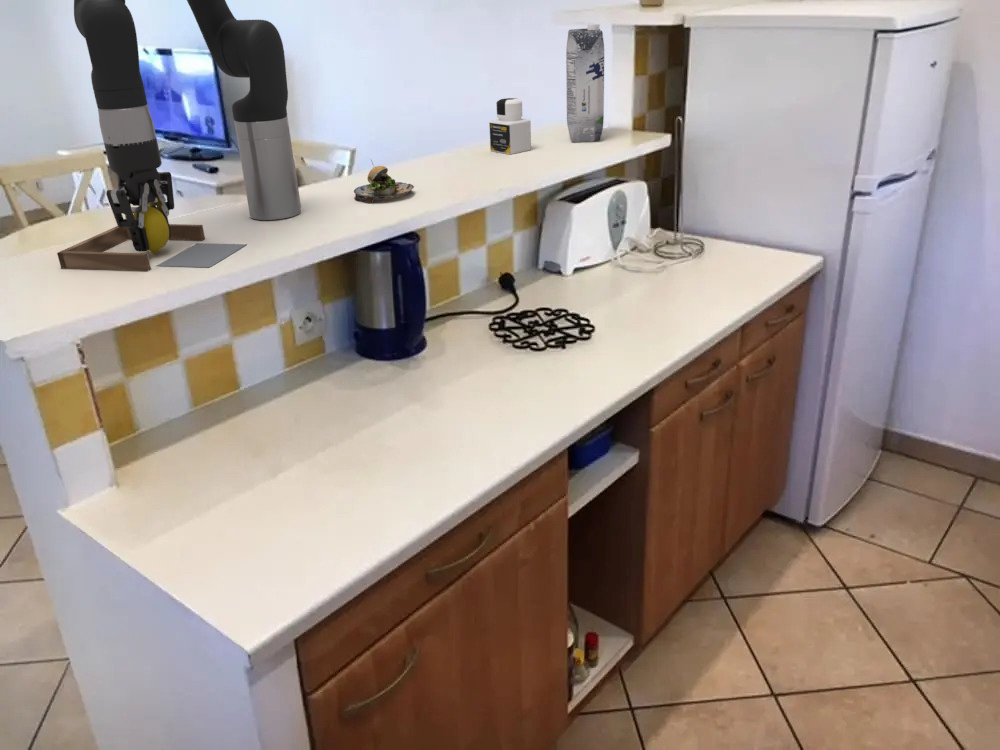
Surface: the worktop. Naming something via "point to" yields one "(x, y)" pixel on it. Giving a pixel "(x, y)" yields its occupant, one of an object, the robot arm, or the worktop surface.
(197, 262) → the mat
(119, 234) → the bay
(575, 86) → the juice carton
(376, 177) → the burger
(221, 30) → the robot arm
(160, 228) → the lemon
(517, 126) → the medicine bottle
